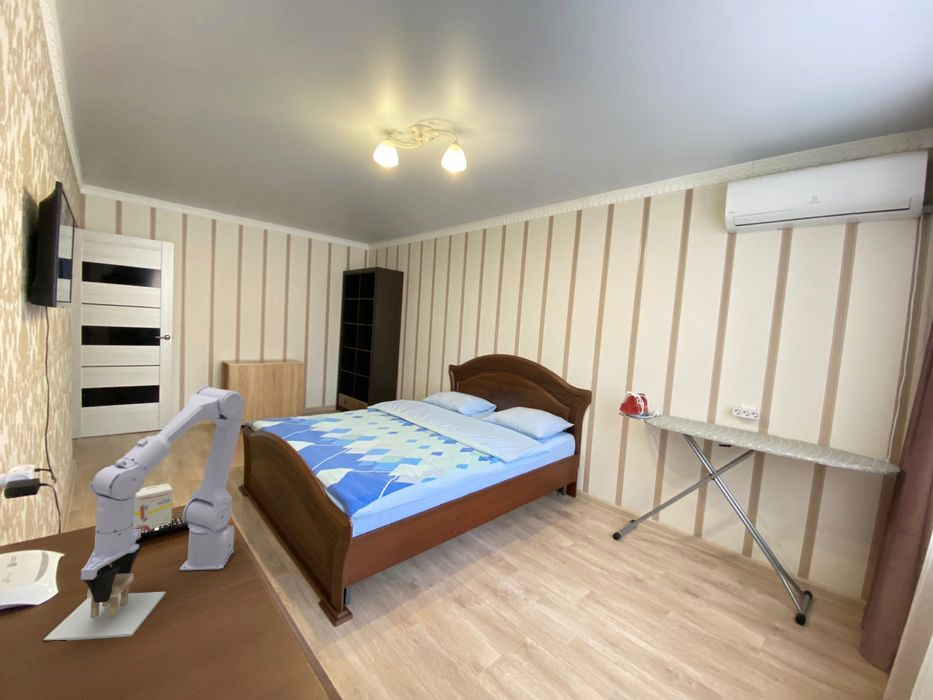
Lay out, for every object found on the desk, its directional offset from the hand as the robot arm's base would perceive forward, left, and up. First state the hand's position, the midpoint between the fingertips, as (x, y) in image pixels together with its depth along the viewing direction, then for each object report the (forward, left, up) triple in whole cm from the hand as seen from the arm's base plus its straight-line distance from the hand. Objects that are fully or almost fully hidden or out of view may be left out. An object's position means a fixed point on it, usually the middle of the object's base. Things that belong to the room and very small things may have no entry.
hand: (111, 591), depth 79 cm
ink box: (+10, -34, -5) cm, 36 cm away
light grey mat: (0, 0, -5) cm, 5 cm away
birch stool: (0, 0, -4) cm, 4 cm away
